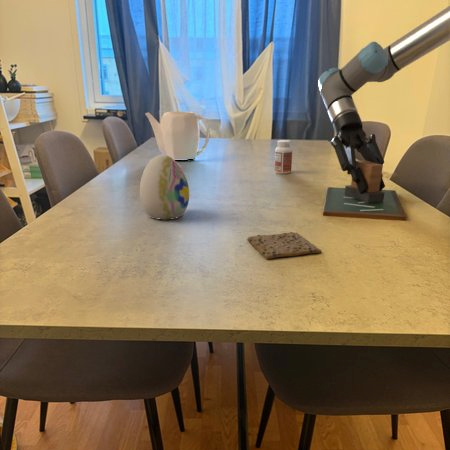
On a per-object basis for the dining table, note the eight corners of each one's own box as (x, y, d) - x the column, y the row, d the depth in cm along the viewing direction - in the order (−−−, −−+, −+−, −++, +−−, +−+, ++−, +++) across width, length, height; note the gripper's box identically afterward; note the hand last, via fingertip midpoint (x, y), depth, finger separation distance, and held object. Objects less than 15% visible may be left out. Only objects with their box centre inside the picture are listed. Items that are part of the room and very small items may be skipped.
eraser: (383, 201, 117) (389, 165, 113) (367, 203, 116) (373, 167, 111) (359, 192, 126) (363, 159, 122) (344, 194, 125) (348, 160, 121)
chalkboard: (394, 193, 130) (395, 190, 129) (405, 220, 106) (406, 216, 105) (326, 190, 134) (327, 186, 134) (322, 215, 110) (323, 211, 109)
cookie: (322, 252, 86) (323, 248, 86) (266, 259, 83) (266, 255, 83) (297, 234, 96) (297, 230, 96) (246, 239, 93) (246, 235, 93)
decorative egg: (177, 224, 104) (173, 160, 97) (133, 219, 107) (126, 157, 101) (197, 211, 114) (195, 152, 107) (156, 207, 118) (152, 149, 111)
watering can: (152, 156, 193) (148, 110, 184) (211, 156, 192) (210, 110, 184) (145, 162, 179) (140, 113, 171) (208, 162, 178) (207, 113, 170)
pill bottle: (291, 171, 161) (293, 139, 156) (290, 174, 156) (292, 142, 151) (274, 170, 162) (276, 139, 157) (273, 173, 157) (274, 141, 152)
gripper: (365, 127, 129) (392, 194, 123) (312, 129, 124) (337, 200, 118) (379, 109, 122) (408, 179, 116) (323, 111, 117) (351, 184, 111)
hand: (372, 189), depth 117 cm, fingers closed on eraser, 5 cm apart
